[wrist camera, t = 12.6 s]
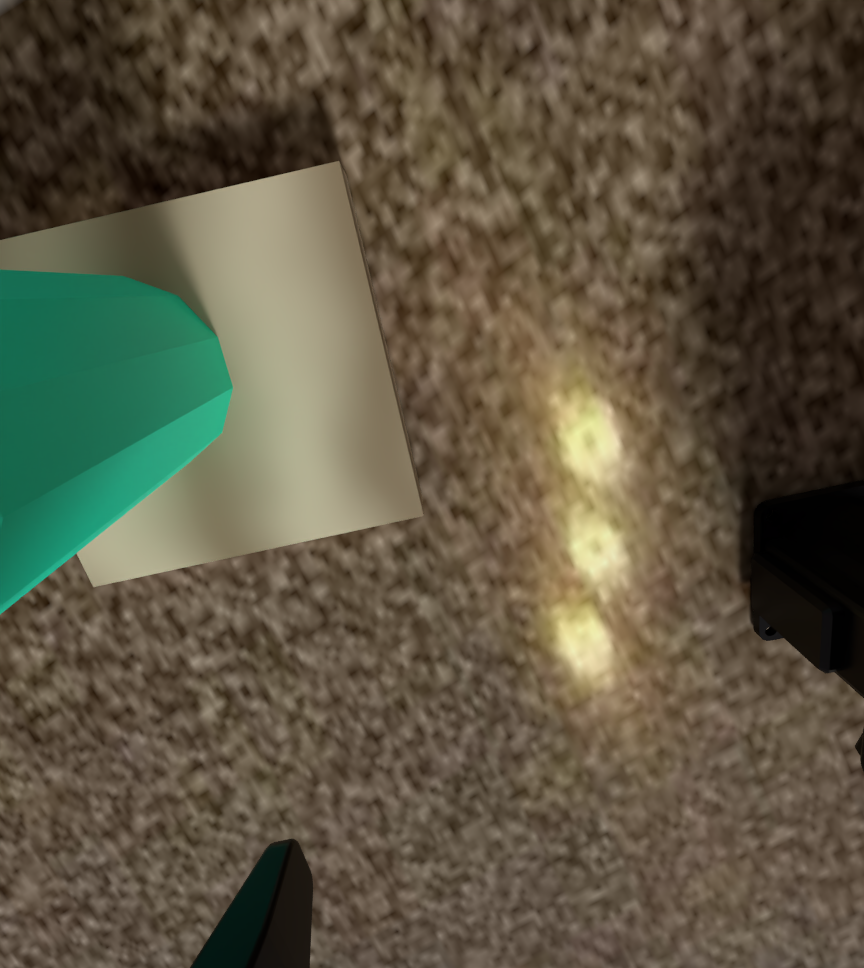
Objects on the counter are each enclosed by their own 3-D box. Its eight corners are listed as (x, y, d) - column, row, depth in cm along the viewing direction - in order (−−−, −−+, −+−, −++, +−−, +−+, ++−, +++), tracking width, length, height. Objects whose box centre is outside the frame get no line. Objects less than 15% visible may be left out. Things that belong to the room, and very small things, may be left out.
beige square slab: (346, 175, 17) (339, 160, 15) (421, 494, 20) (423, 516, 18) (-20, 261, 17) (-74, 257, 15) (121, 560, 21) (93, 587, 19)
